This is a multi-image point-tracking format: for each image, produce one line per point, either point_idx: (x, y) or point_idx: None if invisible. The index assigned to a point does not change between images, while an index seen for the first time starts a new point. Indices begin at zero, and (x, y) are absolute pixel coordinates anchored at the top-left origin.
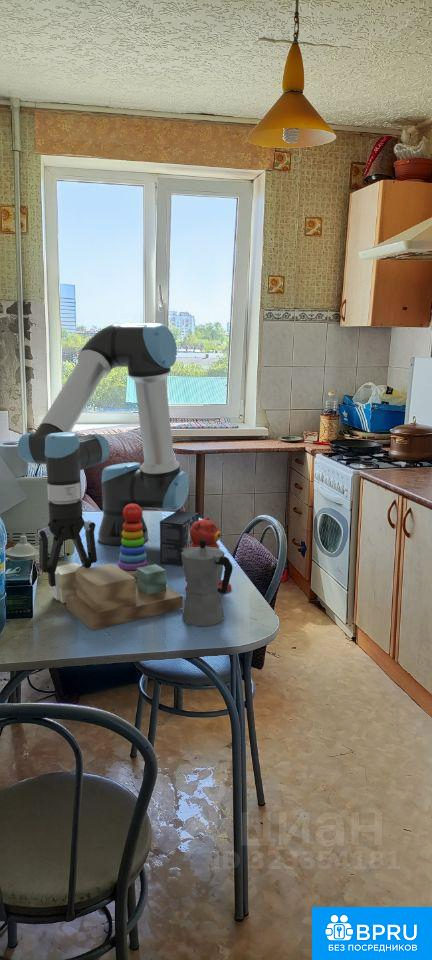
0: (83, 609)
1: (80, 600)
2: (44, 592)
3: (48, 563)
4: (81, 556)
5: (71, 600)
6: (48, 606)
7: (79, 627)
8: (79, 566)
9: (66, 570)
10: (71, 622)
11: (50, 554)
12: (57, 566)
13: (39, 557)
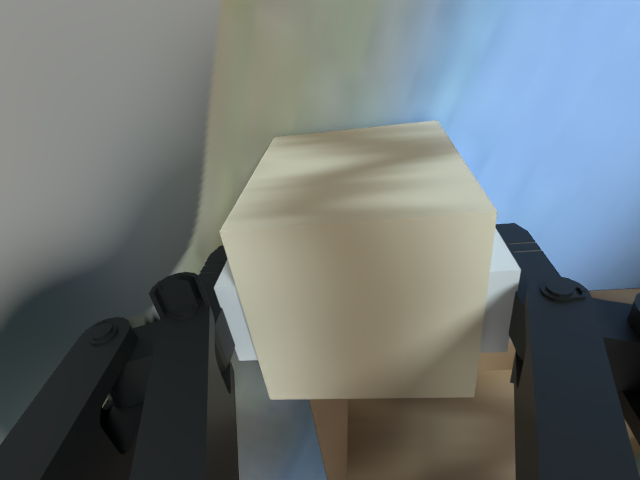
0: (329, 477)
1: (346, 420)
2: (226, 24)
3: (156, 361)
4: (517, 442)
5: (310, 401)
6: None
7: (307, 444)
8: (470, 322)
9: (331, 350)
10: (292, 411)
11: (137, 450)
12: (278, 225)
13: (11, 440)
